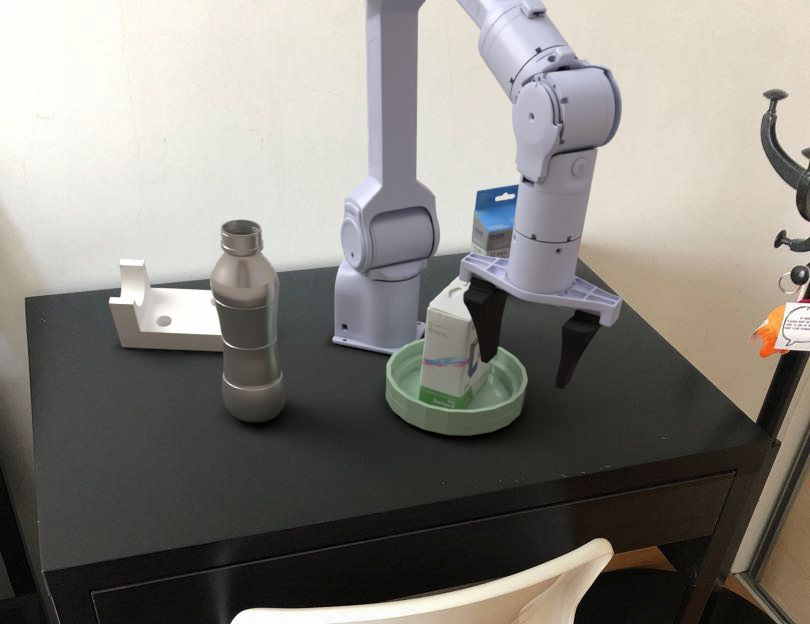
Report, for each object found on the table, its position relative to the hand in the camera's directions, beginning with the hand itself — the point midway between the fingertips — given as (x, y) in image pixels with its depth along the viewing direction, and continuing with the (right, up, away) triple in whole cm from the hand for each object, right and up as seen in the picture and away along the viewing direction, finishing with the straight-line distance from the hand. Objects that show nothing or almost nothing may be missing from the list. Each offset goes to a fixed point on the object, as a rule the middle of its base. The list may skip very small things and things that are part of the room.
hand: (525, 370), depth 84 cm
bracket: (-37, +8, +22) cm, 44 cm away
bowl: (-6, 0, +15) cm, 16 cm away
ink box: (-6, 0, +15) cm, 16 cm away
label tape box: (+2, +18, +36) cm, 40 cm away
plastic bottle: (-27, -2, +11) cm, 29 cm away
